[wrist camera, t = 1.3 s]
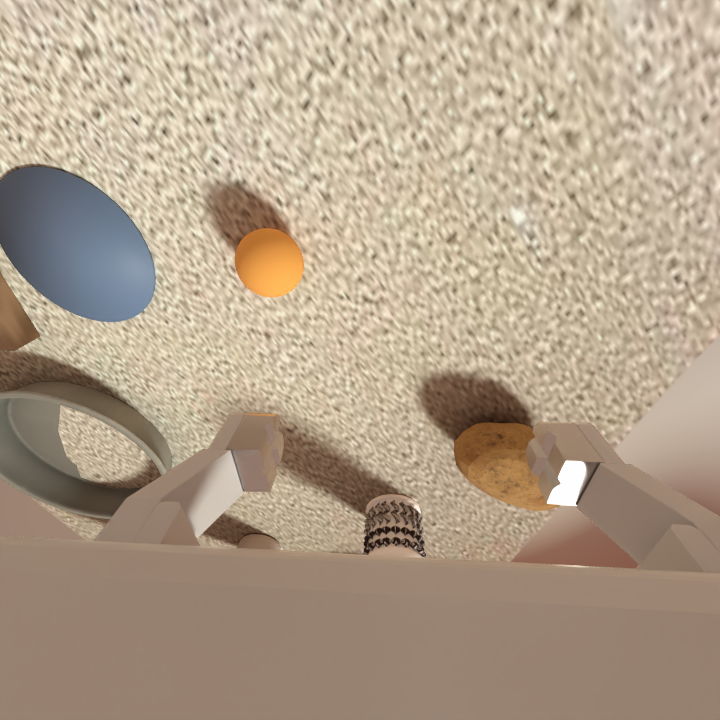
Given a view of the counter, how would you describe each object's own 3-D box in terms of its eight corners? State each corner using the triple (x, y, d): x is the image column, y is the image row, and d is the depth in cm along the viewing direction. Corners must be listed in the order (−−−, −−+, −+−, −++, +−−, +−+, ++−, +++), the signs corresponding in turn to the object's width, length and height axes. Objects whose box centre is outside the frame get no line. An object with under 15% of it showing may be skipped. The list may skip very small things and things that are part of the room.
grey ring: (86, 501, 54) (64, 528, 51) (-48, 388, 42) (-91, 412, 38) (216, 484, 50) (203, 512, 46) (110, 351, 37) (79, 374, 33)
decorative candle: (433, 500, 48) (471, 769, 28) (409, 531, 53) (427, 779, 33) (374, 486, 47) (368, 755, 27) (356, 519, 52) (339, 767, 32)
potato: (481, 383, 36) (504, 437, 30) (568, 435, 40) (606, 493, 33) (426, 434, 41) (435, 490, 34) (508, 476, 45) (530, 534, 38)
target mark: (-44, 167, 27) (-47, 167, 27) (118, 165, 26) (117, 165, 26) (47, 320, 35) (46, 320, 35) (175, 322, 34) (174, 322, 34)
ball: (242, 221, 28) (215, 237, 24) (305, 221, 28) (291, 237, 23) (254, 283, 31) (232, 307, 27) (311, 283, 31) (299, 308, 26)
